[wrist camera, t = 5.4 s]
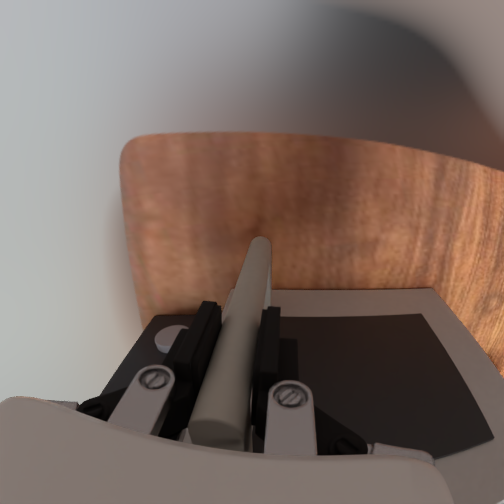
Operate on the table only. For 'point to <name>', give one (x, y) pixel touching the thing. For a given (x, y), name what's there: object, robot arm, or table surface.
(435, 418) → the microwave door
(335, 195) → the table surface
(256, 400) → the robot arm
